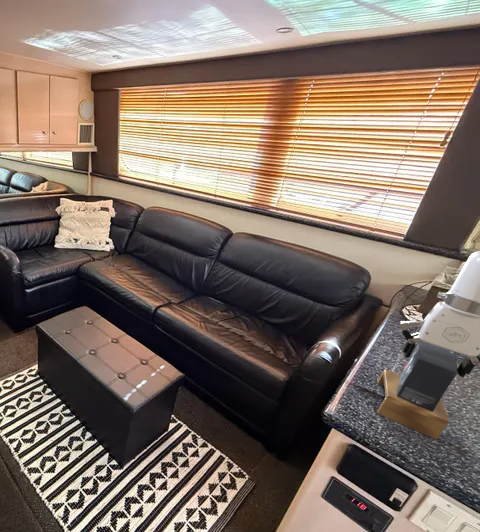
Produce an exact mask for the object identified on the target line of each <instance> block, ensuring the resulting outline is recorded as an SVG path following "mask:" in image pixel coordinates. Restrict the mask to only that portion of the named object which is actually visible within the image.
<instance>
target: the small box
mask: <svg viewBox="0 0 480 532" xmlns="http://www.w3.org/2000/svg"><path fill="white" fill-rule="evenodd" d="M457 368H458V363H457V352H454V351H450V350H447V349H444V348H441V347H438V346H435V345H432V344H429V343H426V342H424V341H421V342H417V345H416V346H415V348H414V350H413V352H412V354H411V355H410V357H409V358H408V361H407V362H406V364H405V366H404V367H403V370H402V372H401V373H400V374H399V375H400V379H399V385H398V391H397V396H398V397H400V398H402V399H405V400H407V401H409V402H411V403H414V404H416V405H418V406H420V407H423V408H425V409H427V410H429V411H431V412H433V411H434V409H435V407H436V406H437V404H438V402H439V401H440V399H442V398H443V396H444V395H445V393H446V392H447V390H448V388H449V387H450V385H451V384H452V382H453V380H454V379H455V378H456V376H457V375H458V372H457Z"/></svg>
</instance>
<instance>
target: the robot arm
mask: <svg viewBox="0 0 480 532" xmlns="http://www.w3.org/2000/svg"><path fill="white" fill-rule="evenodd" d="M436 298H439V299H441V300H442V301H438V302H437V303H436V304H435V305H434V306H433V307H432V309H431V310H430V311H429V312H428V314H427V315H426V316H425V318H424V319H422V320H406V321H405V320H403V321H402V320H401V321H400V322H399V325H400V330H401V334H402V335H403V337H404V338H405V339H406V341H405V343H404V345H403V346H402V349H401V352H402V353H403V355H404V358H407V359H410V357H411V355H412V353H413V352H414V350H415V348H416V347H417V345H416V344H418V343H419V342H421V341H423V342H426V343H429V344H432V345H435V346H438V347H441V348H444V349H447V350H449V351H452V352H455V353H456V354H460V355H464V356H467V357H464V358H463V360H462V361H461V363H459V365H458V366H457V372H458V374H457V375H458V376H459V377H460V378H465V376H466V375H470V374H471V372H472V371H473V369H474V368H475V366H479V365H480V250H477V251H474V252H473V253H471V254H470V255H469V257H468V258H467V260H466V262H465V263H464V265H463V267H462V268H461V270H460V272H459V274H458V276H457V277H456V279H455V281H454V283H453V284H452V286H451V287H450V290H448V291H446V292H440V291H439V292H438V293H437V295H436ZM409 328H417V331H416V332H415V333H411V332H410V331H409Z"/></svg>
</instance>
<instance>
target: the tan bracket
mask: <svg viewBox="0 0 480 532" xmlns="http://www.w3.org/2000/svg"><path fill="white" fill-rule="evenodd" d="M400 375H401V374H399V373H396V372H395V371H394V372H393V371H391V370H389V369H386V368H384V369H383V371H382V372H381V375H380V376H379V378H378V380H377V385H380V386H382V387H384V395H385V397H384V398H383V400H382V402H381V404H380V406H379V407H378V408H377V414H378V415H380V416H382V417H385V418H386V419H390V420H392V421H394V422H395V423H398V424H400V425H402V426H405V427H407V428H409V429H412V430H414V431H416V432H418V433H421V434H423V435H425V436H427V437H429V438H432V439H434V440H438V438H440V436H441V434H442V433H443V431H444V430H445V428H446V427H447V425H448V424H449V423H450V418H449V416H448V413H447V411H446V408H445V404H444V402H443V399H442V398H441V399H440V401H439V402H438V404H437V406H436V407H435V409H434V411H433V412H431V411H429V410H427V409H425V408H423V407H420V406H418V405H416V404H414V403H411V402H409V401H407V400H405V399H402V398H400V397H398V396H397V391H398V385H399V379H400Z"/></svg>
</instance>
